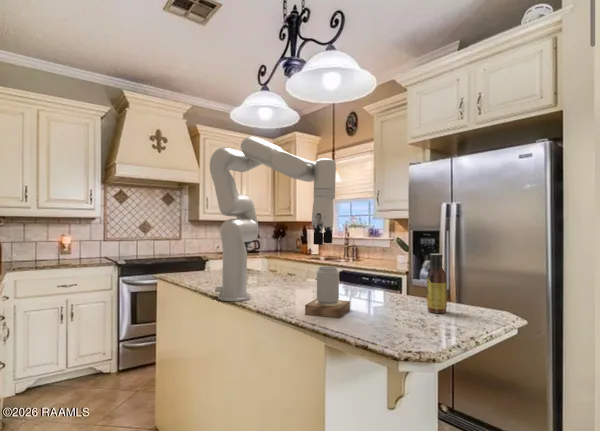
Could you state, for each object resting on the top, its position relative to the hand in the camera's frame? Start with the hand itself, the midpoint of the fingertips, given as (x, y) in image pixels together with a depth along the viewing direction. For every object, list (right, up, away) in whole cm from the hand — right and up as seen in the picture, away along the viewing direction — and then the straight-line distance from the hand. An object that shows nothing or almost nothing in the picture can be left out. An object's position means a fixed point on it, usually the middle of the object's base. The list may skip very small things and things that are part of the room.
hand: (323, 243), depth 129 cm
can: (+1, -20, -3) cm, 20 cm away
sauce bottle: (+39, -23, -3) cm, 45 cm away
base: (+2, -23, -3) cm, 23 cm away
